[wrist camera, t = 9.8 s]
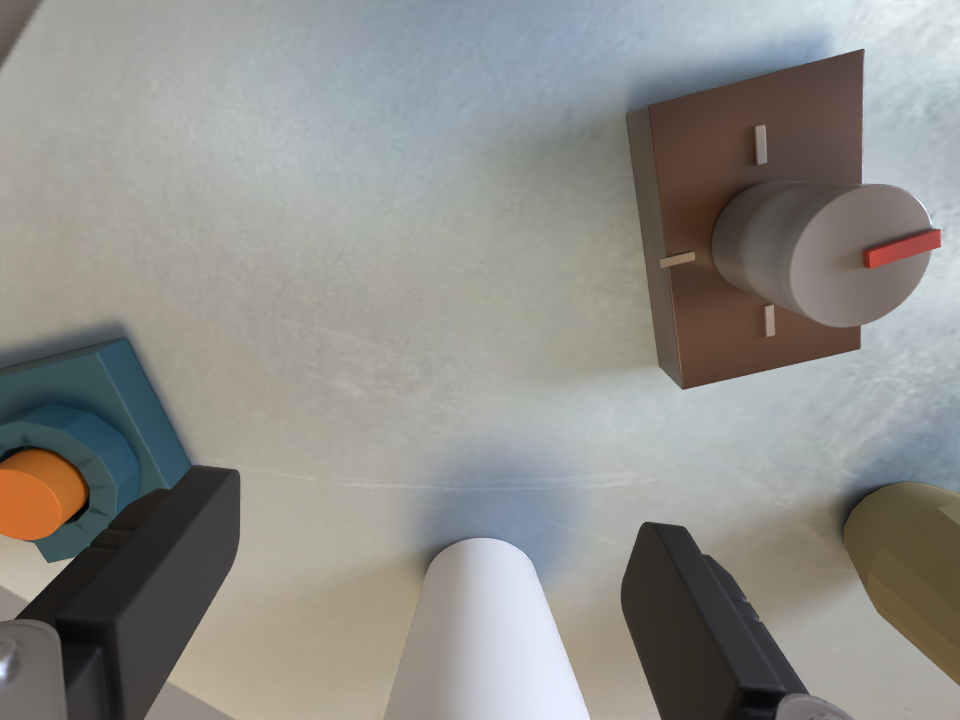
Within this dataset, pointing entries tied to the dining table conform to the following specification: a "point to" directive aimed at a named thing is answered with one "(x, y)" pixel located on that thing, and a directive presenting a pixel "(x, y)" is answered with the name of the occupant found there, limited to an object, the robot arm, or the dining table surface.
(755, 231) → the dial
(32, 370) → the button block
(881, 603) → the squeeze bottle
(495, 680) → the cup
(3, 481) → the push button
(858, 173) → the dial panel
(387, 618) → the dining table surface
